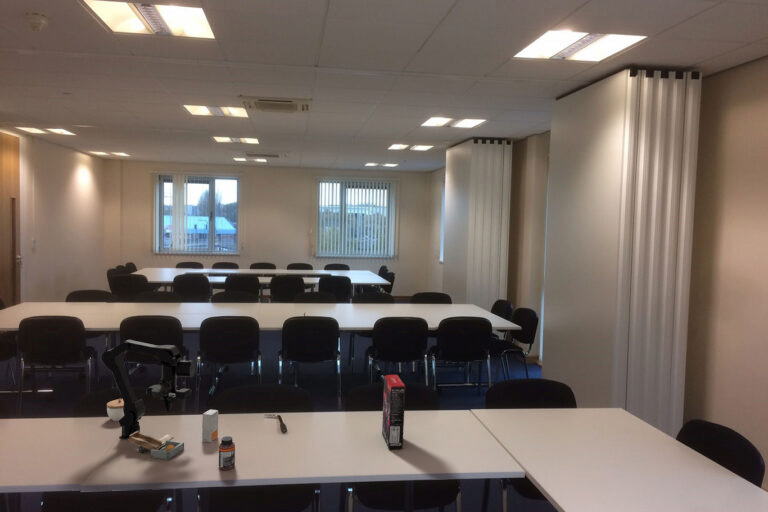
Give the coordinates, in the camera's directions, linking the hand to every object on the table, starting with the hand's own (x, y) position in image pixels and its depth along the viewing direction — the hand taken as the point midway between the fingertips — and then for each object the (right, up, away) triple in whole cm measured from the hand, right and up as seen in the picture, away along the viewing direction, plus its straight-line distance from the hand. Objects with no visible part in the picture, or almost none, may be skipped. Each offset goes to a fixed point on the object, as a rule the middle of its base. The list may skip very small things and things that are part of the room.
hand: (168, 411), depth 220 cm
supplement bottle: (+32, -14, -24) cm, 43 cm away
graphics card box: (+96, -14, +3) cm, 97 cm away
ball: (+7, -11, -14) cm, 19 cm away
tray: (+5, -13, -14) cm, 20 cm away
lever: (-4, -9, -8) cm, 13 cm away
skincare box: (+18, -12, +1) cm, 21 cm away
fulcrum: (-5, -12, -12) cm, 18 cm away
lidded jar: (-32, -10, +21) cm, 40 cm away
